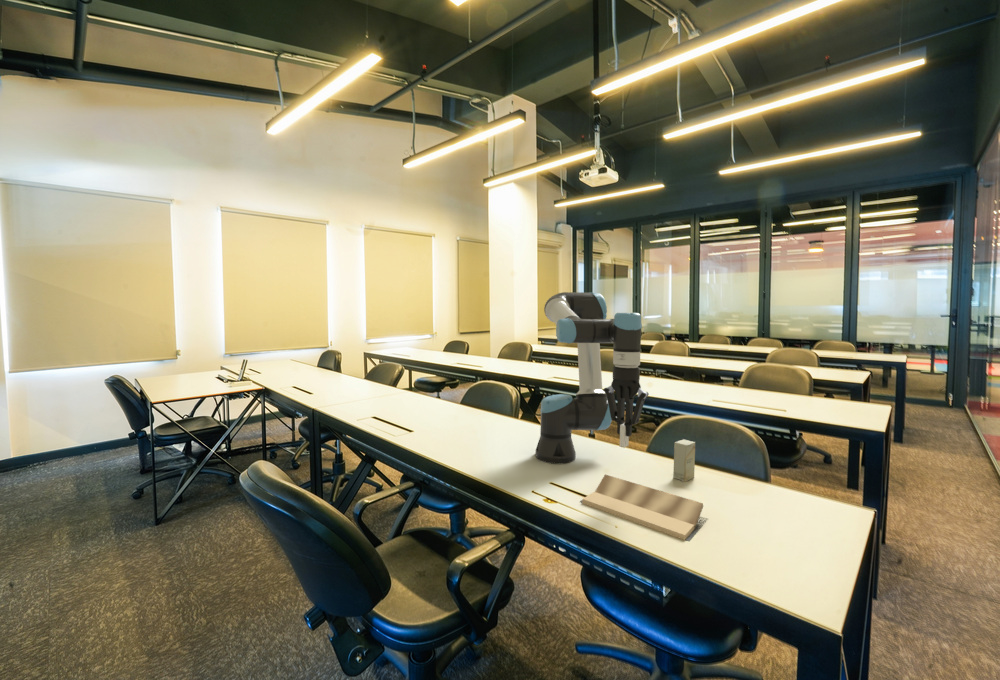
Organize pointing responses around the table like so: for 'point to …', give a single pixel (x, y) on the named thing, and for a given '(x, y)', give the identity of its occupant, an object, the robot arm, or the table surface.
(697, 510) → the plank
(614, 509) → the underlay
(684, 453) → the skincare box
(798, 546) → the table surface
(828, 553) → the table surface
